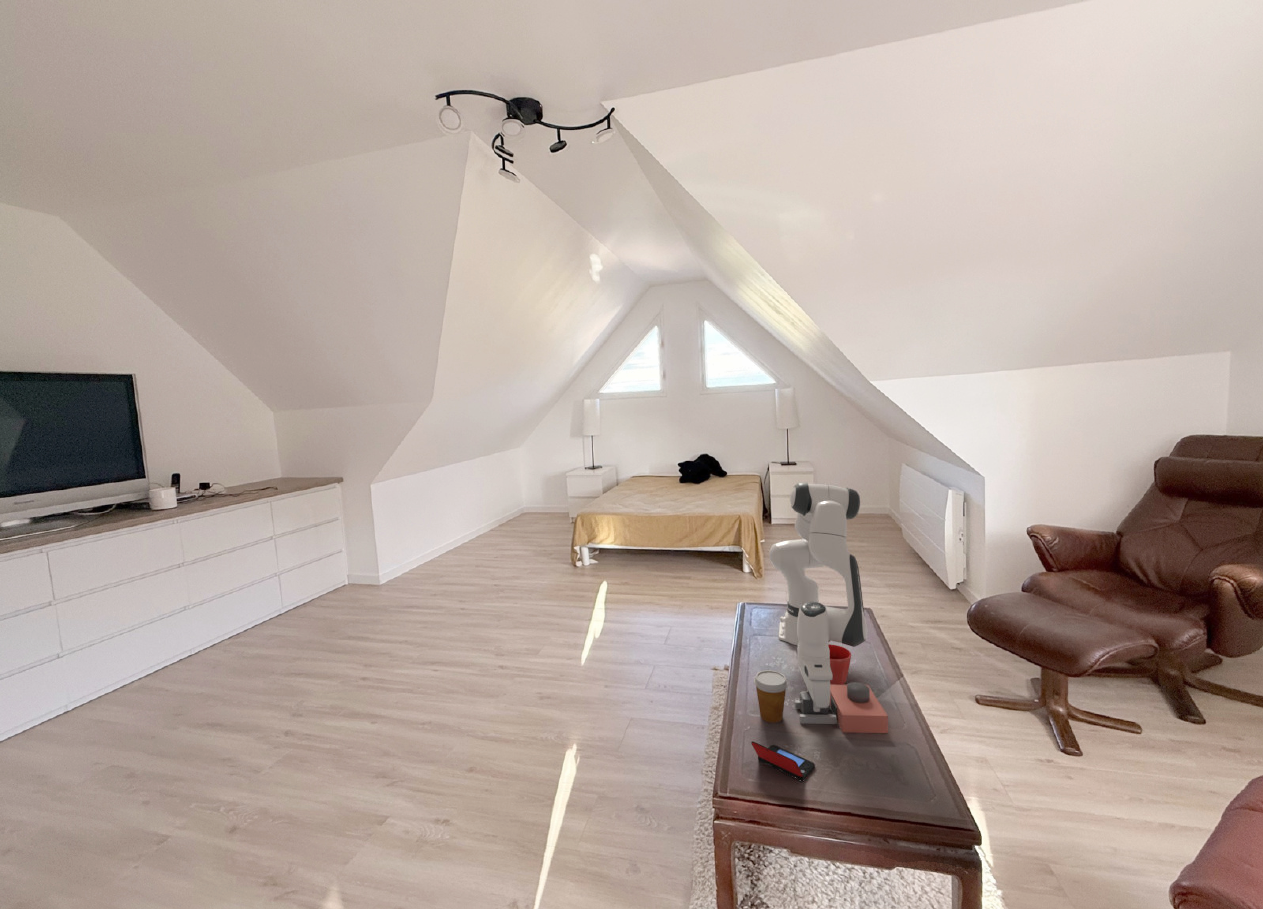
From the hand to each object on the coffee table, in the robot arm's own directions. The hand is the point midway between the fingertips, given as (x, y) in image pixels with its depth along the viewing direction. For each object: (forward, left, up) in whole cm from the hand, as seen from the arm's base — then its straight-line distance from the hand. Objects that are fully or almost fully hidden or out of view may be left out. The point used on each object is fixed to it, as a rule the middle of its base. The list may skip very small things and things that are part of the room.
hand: (814, 704), depth 156 cm
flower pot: (-20, +11, -3) cm, 23 cm away
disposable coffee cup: (+1, -12, -3) cm, 13 cm away
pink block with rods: (0, +7, -3) cm, 7 cm away
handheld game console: (+23, -13, -4) cm, 27 cm away
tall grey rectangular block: (0, 0, -2) cm, 2 cm away
